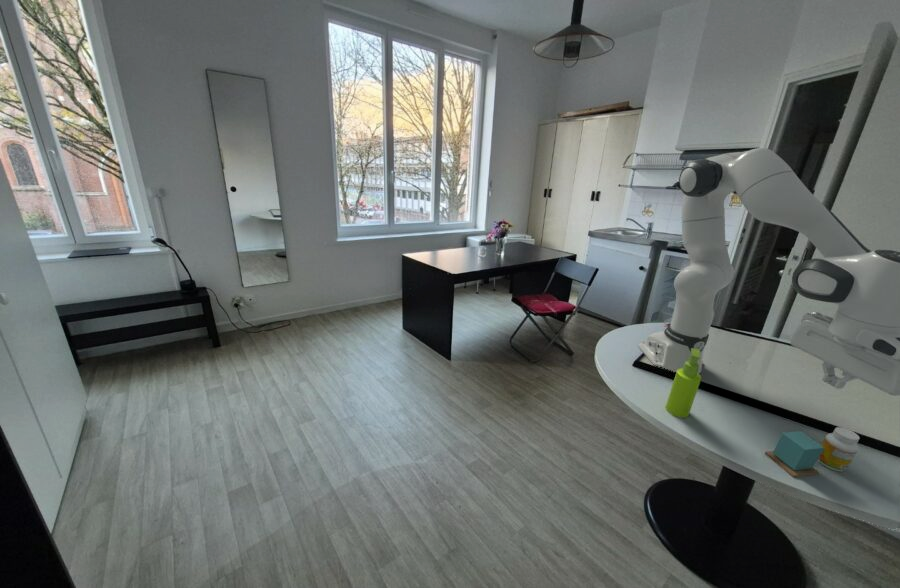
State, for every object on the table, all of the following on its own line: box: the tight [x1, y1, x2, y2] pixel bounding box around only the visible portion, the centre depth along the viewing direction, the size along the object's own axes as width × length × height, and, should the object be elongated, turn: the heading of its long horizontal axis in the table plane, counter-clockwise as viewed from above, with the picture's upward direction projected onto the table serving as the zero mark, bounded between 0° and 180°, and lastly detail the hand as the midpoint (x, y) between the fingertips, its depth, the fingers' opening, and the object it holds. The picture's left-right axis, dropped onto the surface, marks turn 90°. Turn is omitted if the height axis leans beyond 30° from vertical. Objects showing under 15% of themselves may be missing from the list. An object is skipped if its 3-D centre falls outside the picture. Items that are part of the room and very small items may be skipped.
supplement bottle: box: [817, 426, 860, 472], centre depth 83 cm, size 5×5×10 cm
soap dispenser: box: [665, 348, 702, 419], centre depth 98 cm, size 6×7×20 cm
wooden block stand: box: [764, 450, 820, 478], centre depth 83 cm, size 7×7×7 cm
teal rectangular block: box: [772, 430, 824, 470], centre depth 83 cm, size 5×5×7 cm
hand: (832, 384), depth 75 cm, fingers closed
